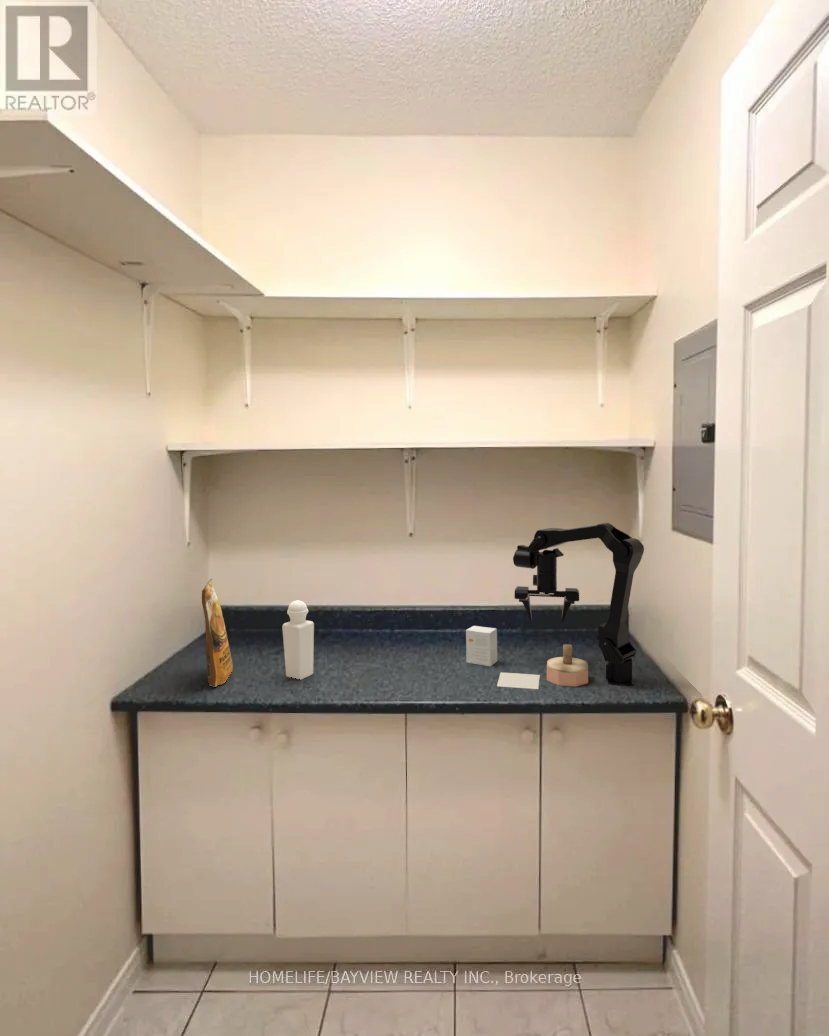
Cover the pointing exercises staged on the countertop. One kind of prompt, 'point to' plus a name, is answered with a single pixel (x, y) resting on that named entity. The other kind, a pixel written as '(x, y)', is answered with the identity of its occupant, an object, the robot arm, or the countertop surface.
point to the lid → (567, 662)
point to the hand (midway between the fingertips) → (546, 621)
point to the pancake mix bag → (215, 638)
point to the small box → (481, 645)
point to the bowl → (567, 678)
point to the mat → (518, 680)
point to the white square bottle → (298, 642)
